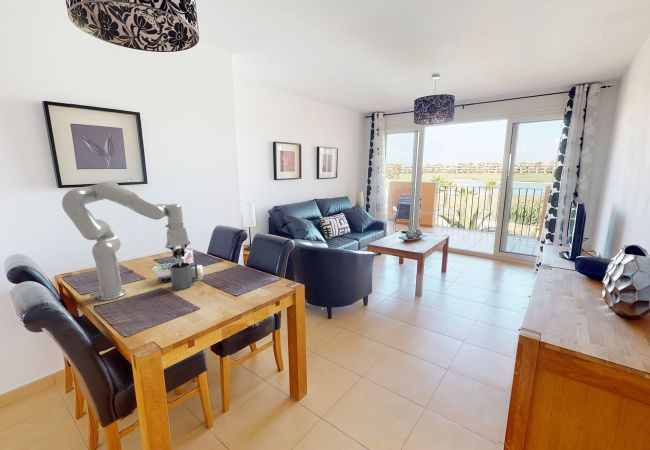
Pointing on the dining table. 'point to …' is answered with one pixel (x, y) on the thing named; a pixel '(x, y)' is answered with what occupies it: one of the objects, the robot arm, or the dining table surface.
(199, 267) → the mug
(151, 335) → the dining table surface
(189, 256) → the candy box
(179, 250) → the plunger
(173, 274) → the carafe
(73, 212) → the robot arm
